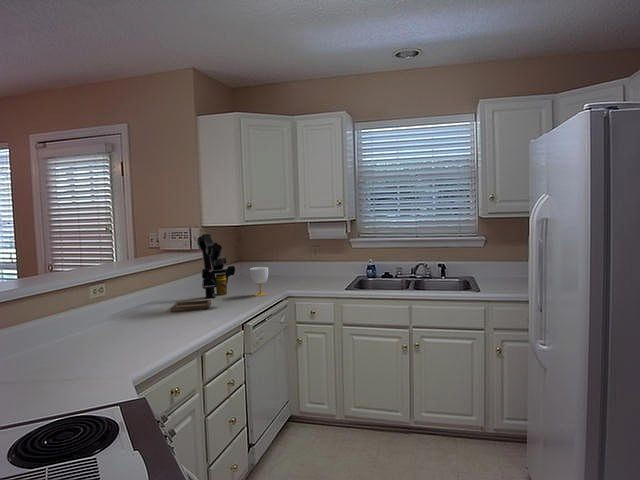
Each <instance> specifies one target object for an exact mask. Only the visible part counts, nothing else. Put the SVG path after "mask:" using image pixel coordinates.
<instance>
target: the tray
mask: <svg viewBox="0 0 640 480" xmlns="http://www.w3.org/2000/svg"><path fill="white" fill-rule="evenodd" d="M211 305H212V300H211V299H204V300H193V301H192V300H191V301H180V302H176V303H174V304H173V305H172V306H170V313H171V312H173V313H181V312H183V313H184V311H185V312H193V311H195V312H196V311H208V310H209V309H210V306H211Z"/></svg>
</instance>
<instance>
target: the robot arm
mask: <svg viewBox="0 0 640 480" xmlns="http://www.w3.org/2000/svg"><path fill="white" fill-rule="evenodd" d="M196 244H197V246H198V249H199V250H200V251H201V256H202V261H203V262H202V263H203V268H202V270H201V278H202V283H201V287H202V289H203V290H205V291H204V292H205V297H204V299H215V298H216V297H217V296H214V297H213V294H216V274H221V273H224V274H225V276H226V277H225V278H226V282H227V284H228V283H229V282H228V281H229V277H231V276H234V275H235V272H236V266H234V265H229V266H227V268H224V264H225V265H227V261H228V260H227V258H226V257H223V258H221V256H222V250H223V246H222V245H221V244H219V243H218V242H213V240H212V236H211V234H209V233H203V234H201V236H199V237H197V240H196Z"/></svg>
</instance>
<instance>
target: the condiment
mask: <svg viewBox="0 0 640 480" xmlns="http://www.w3.org/2000/svg"><path fill="white" fill-rule="evenodd" d="M215 277H216V287H215V294H213V297H214V296H216V297H222V296H229V292H228V287H227V286H228V283H227V282H226V278H225V277H226V276H225V273H220V274H215Z"/></svg>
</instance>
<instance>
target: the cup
mask: <svg viewBox="0 0 640 480" xmlns="http://www.w3.org/2000/svg"><path fill="white" fill-rule="evenodd" d="M249 272H250V273H249V274H250V279H251V281H252V282H253V284H255V285H258V286H259V293H254V294H253V296H255V297H264V296H267V294H268V292H262V285H263V284H265V283H266V282H267V281H268V278H269V267H268V266H257V267H256V266H255V267H252V268H251V267H250V268H249Z"/></svg>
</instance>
